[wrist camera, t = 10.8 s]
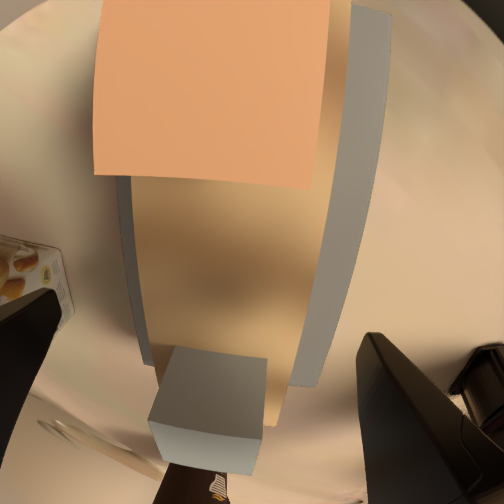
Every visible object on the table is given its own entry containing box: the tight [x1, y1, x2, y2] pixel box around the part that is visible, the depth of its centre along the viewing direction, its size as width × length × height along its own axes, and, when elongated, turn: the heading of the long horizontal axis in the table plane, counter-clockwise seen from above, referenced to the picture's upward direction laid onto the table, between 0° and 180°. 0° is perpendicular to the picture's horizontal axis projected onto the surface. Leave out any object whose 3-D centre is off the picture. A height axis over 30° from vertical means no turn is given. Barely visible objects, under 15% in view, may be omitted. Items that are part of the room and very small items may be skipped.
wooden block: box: [131, 0, 351, 427], centre depth 12 cm, size 20×6×4 cm, turn 175°
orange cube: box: [93, 0, 330, 190], centre depth 6 cm, size 4×4×4 cm
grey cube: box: [147, 345, 268, 476], centre depth 11 cm, size 4×4×4 cm
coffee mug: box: [153, 462, 230, 504], centre depth 27 cm, size 12×9×10 cm
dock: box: [116, 4, 392, 387], centre depth 15 cm, size 22×12×3 cm, turn 175°
